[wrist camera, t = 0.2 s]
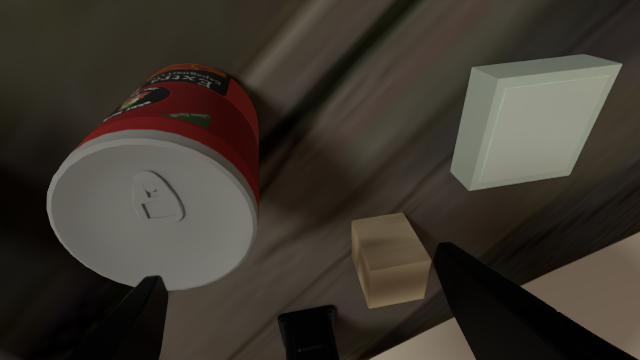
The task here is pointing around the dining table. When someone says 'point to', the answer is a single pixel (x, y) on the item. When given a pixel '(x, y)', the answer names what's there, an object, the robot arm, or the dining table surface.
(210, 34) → the dining table surface
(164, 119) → the canned food
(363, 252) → the block
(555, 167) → the base
